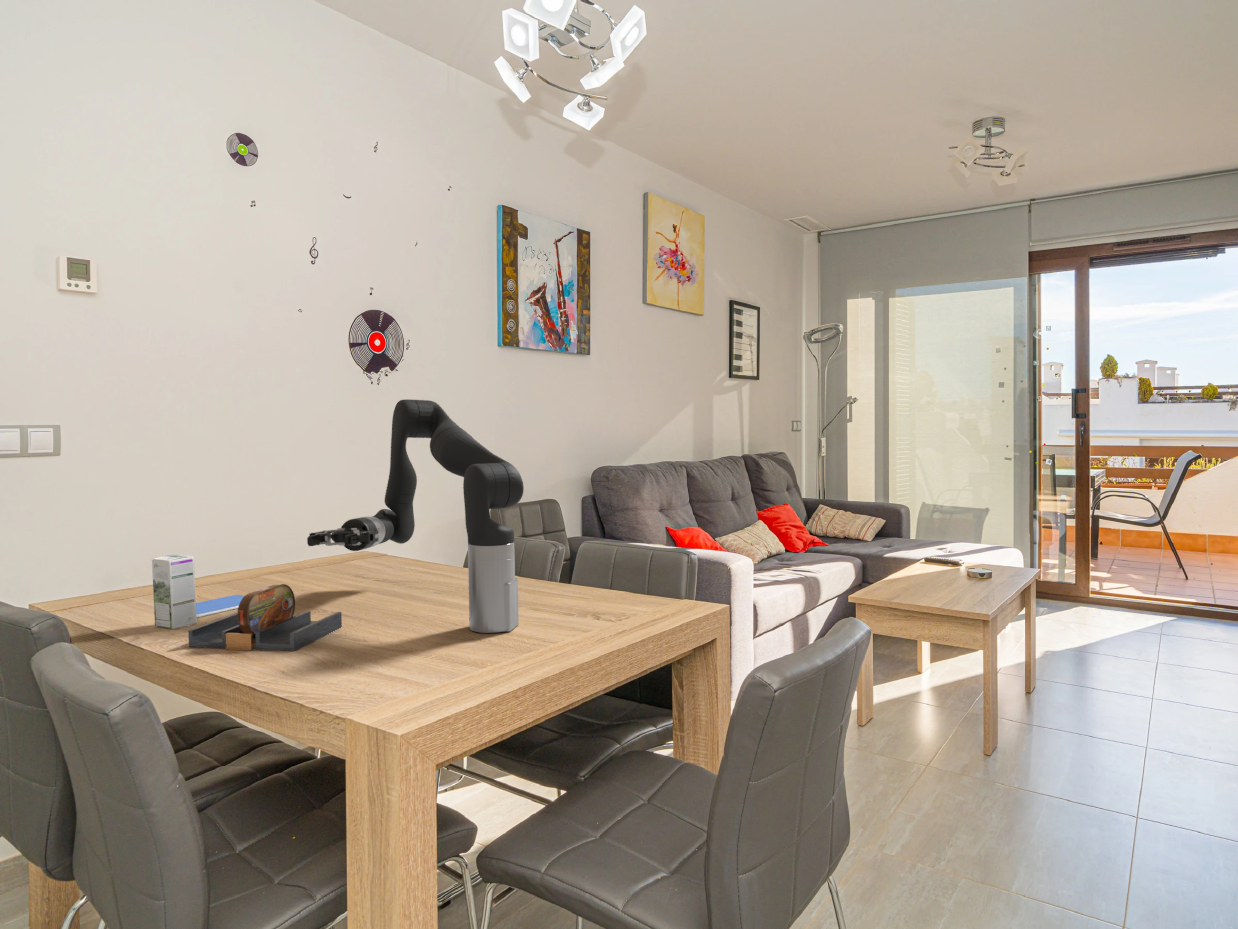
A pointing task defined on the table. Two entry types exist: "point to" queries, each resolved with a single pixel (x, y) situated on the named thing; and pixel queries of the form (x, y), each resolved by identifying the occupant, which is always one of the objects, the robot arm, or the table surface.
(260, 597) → the tin
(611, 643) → the table surface
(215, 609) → the tablet computer
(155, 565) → the syrup box
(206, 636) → the rack
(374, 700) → the table surface
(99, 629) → the table surface
